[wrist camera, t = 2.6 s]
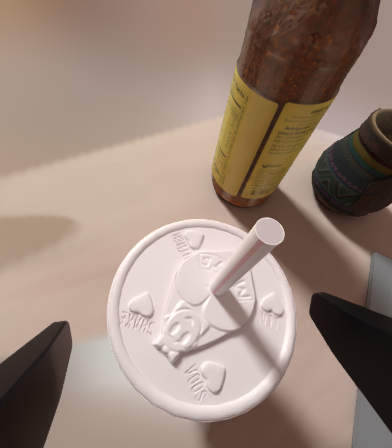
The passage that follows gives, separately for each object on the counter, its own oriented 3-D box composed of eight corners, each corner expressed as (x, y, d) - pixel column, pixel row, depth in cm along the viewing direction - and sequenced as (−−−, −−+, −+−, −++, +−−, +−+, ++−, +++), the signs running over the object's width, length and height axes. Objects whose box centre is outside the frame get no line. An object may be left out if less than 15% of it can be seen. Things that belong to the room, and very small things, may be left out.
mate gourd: (289, 170, 25) (361, 72, 16) (345, 164, 27) (437, 74, 18) (322, 231, 22) (434, 148, 13) (384, 218, 24) (516, 140, 15)
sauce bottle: (275, 172, 24) (558, -260, 7) (263, 220, 21) (708, -332, 4) (216, 150, 25) (352, -316, 8) (196, 195, 22) (348, -423, 4)
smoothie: (244, 323, 17) (467, 246, 5) (184, 411, 14) (362, 782, 2) (177, 264, 18) (219, 87, 6) (111, 333, 15) (-58, 259, 3)
